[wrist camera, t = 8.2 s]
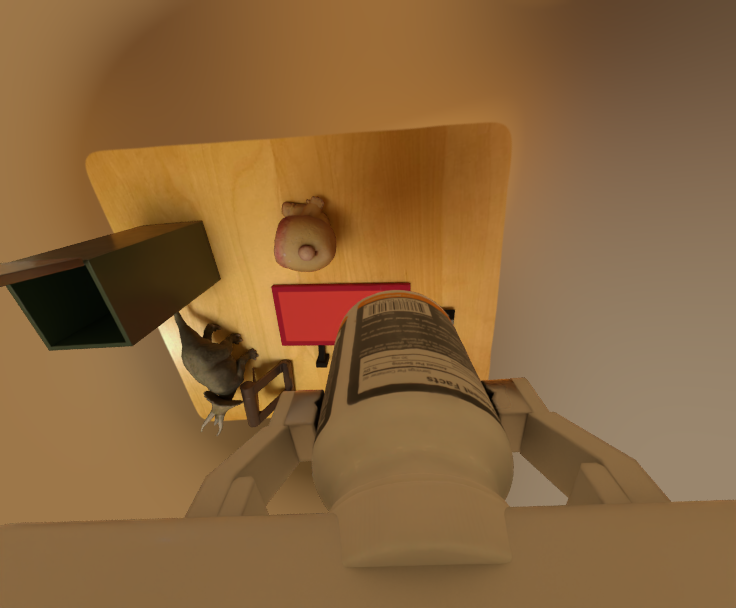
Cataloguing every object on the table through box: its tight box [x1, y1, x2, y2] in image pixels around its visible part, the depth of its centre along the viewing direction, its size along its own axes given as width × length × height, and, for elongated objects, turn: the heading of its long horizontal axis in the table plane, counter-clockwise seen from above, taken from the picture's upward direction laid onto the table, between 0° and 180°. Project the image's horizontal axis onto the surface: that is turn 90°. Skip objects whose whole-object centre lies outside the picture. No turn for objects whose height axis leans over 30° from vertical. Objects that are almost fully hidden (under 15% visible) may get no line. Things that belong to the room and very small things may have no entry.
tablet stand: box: [240, 360, 294, 427], centre depth 53 cm, size 9×8×8 cm
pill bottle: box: [312, 290, 514, 568], centre depth 10 cm, size 6×6×10 cm
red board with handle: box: [271, 283, 455, 367], centre depth 50 cm, size 30×3×15 cm
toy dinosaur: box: [174, 312, 258, 436], centre depth 49 cm, size 22×8×11 cm, turn 13°
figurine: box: [274, 196, 336, 272], centre depth 39 cm, size 10×8×15 cm
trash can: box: [6, 221, 221, 351], centre depth 38 cm, size 10×10×20 cm
